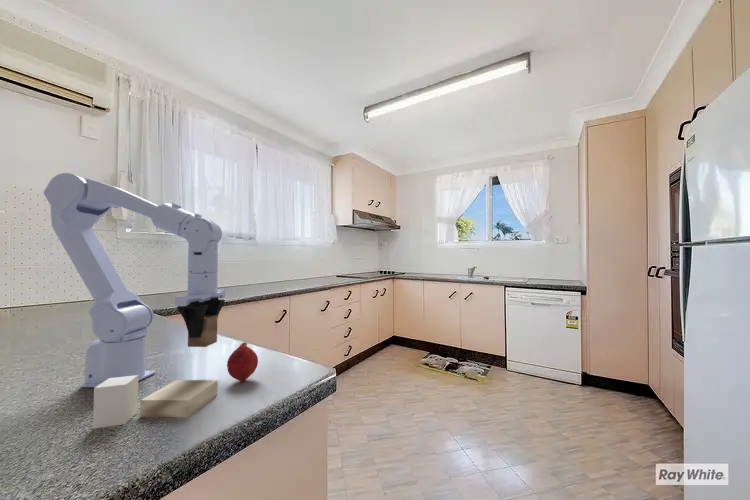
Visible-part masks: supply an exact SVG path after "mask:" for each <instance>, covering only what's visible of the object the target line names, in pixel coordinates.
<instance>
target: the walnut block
mask: <svg viewBox="0 0 750 500" xmlns="http://www.w3.org/2000/svg"><path fill="white" fill-rule="evenodd" d="M218 317H219V315H205V316H204V320H203V328H202V334H201V337H199V338H190V337H189V333H188V332H187V347H190V348H191V347H193V348H202V347H203V348H207V347H209V346H210V345H213V344H216V343H218Z"/></svg>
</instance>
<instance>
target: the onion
mask: <svg viewBox="0 0 750 500" xmlns="http://www.w3.org/2000/svg"><path fill="white" fill-rule="evenodd" d="M226 363H227V365H226V366H227V373H228V374H229V375H230V376H231V378H233V379H235V380H237V381H239V382H242V383H243V382H245V381H246V380H248V379H249V377H250V376H252V375H253V374H254V372H255V371H256V369H257V368H258V365H259V364H258V363H259V357H258V355H257V353H256V352H255V350H253V349H252V348H251V347H249V346H248V343H247V341H243V342H241V344H239V346H238V348H236V349H235V350H234V351H233V352H232V353H231V354H230V355H229V356H228V359H227V362H226Z"/></svg>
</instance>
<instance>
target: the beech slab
mask: <svg viewBox="0 0 750 500" xmlns="http://www.w3.org/2000/svg"><path fill="white" fill-rule="evenodd" d="M218 382H219V381H218V380H217V379H216V380H215V379H214V380H213V379H211V380H210V379H200V380H199V379H197V380H196V379H194V380H192V379H190V380H189V379H188V380H187V379H180V380H179V379H176V380H174V381H172V382H170V383H169V384H167V385H164V386H163V387H161V388H159V389H158V390H155V391H154V392H153V393H150V394H149V395H147V396H145V397H144V398H142V399H140V400H139V401H140V403H139V404H140V405H139V408H140V409H139V416H140V418H141V417H143V418H145V417H147V418H190V417H191V416H192V415H193V414H194V413H196V412H197V411H198V410H200V409H201V408H202V407H203V406H205V405H206V404H208V403H209V402H210V401H211V400H213V399H214V398H215V397H216V396H217V395H218Z"/></svg>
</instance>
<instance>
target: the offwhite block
mask: <svg viewBox="0 0 750 500" xmlns="http://www.w3.org/2000/svg"><path fill="white" fill-rule="evenodd" d="M138 376H139V375H134V376H125V377H115V378H109V379H107V380H106V381H104V382H103V383H101V384H100V385H98V386H97V387H93V414H92V416H93V417H92V419H93V420H92V429H99V428H109V427H113V426H122V425H126V424H127V423H128V422H129V421H130V420H131V419H132V418H133V417H134V416H135V415H136V414H137V413H138V411H139V409H138V407H139V405H138V403H139V381H138Z"/></svg>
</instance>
